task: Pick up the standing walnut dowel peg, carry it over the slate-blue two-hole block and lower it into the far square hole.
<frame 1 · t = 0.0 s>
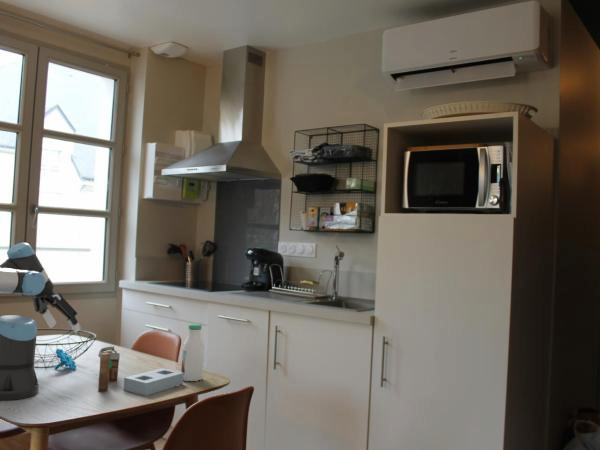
hand: (65, 327, 204), 15 cm above the table, tool tilted 35°, fingers open, 13 cm apart
milk bottle: (191, 380, 201), on the table
food container: (105, 378, 196), on the table
hole block: (154, 386, 189), on the table
gear: (65, 369, 205), on the table
peg: (103, 390, 181), on the table
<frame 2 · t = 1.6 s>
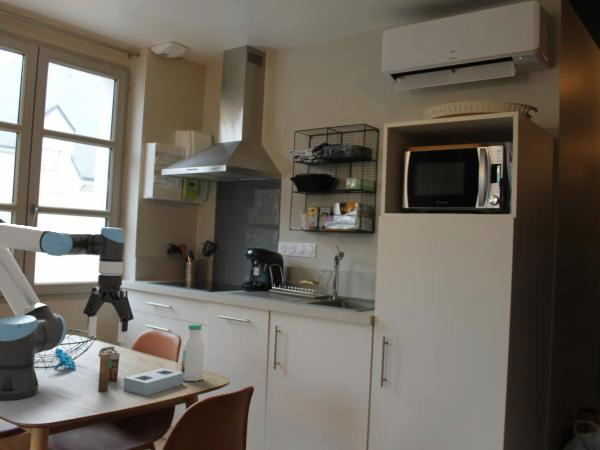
hand: (106, 338, 182), 17 cm above the table, tool pointing down, fingers open, 13 cm apart
nothing on the table moved.
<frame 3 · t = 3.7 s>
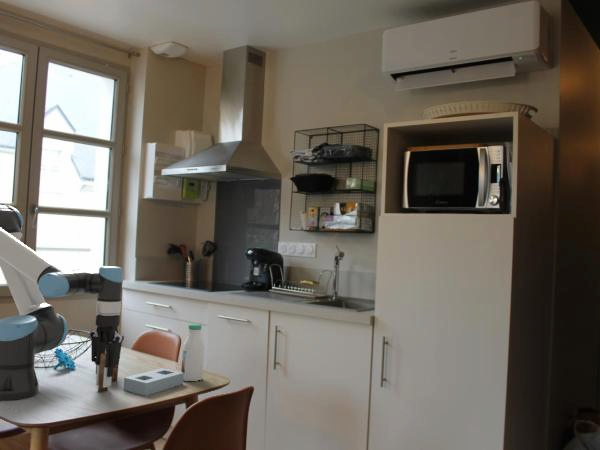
hand: (103, 385, 181), 2 cm above the table, tool pointing down, fingers closed on peg, 3 cm apart
peg: (102, 390, 181), on the table, touching gripper
everything else where it was.
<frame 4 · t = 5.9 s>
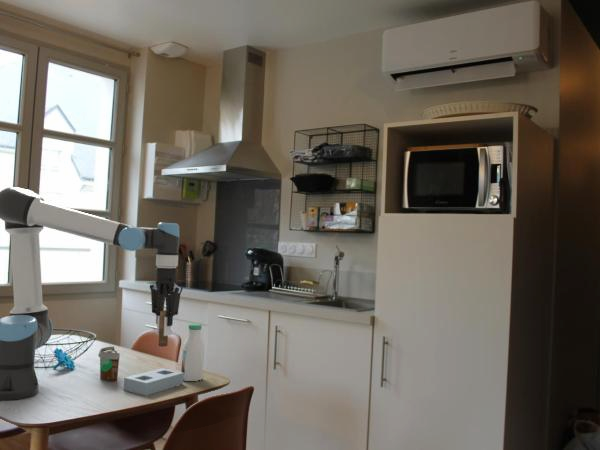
hand: (163, 334, 192), 17 cm above the table, tool pointing down, fingers closed on peg, 2 cm apart
peg: (162, 345, 192), point 14 cm above the table, touching gripper
everything else where it was.
when the fingers open (5 cm above the table, at t = 7.9 s): peg drops 1 cm, resting in hole block.
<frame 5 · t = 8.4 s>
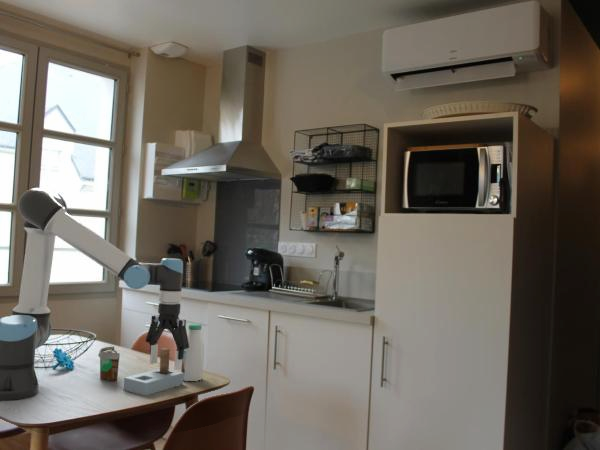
hand: (165, 365, 193), 6 cm above the table, tool pointing down, fingers open, 10 cm apart
peg: (163, 383, 193), resting in hole block
everything else where it was.
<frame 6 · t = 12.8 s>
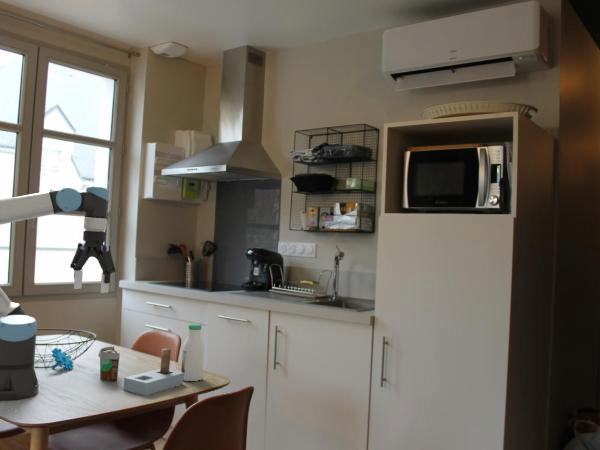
hand: (90, 290, 195), 31 cm above the table, tool pointing down, fingers open, 13 cm apart
at the end: peg 0.1 cm from the target spot on the hole block, point 0.0 cm above the hole block's base; peg tilted 0°; the gripper is holding nothing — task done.
